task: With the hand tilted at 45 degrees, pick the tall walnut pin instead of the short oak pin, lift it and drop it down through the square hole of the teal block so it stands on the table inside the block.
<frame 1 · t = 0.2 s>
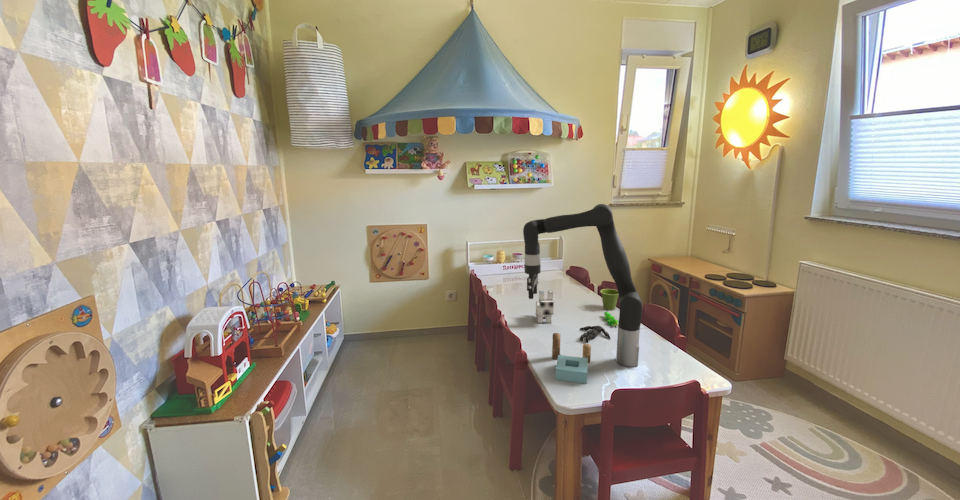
hand: (532, 296, 187), 29 cm above the table, tool pointing down, fingers open, 8 cm apart
green lumpy elongated piece: (610, 322, 227), on the table
plant pot: (609, 308, 249), on the table
toy llama: (543, 321, 230), on the table
hole block: (571, 373, 171), on the table
long pin: (555, 357, 186), on the table
dark grey sprawling piece: (592, 336, 210), on the table
short pin: (586, 361, 182), on the table
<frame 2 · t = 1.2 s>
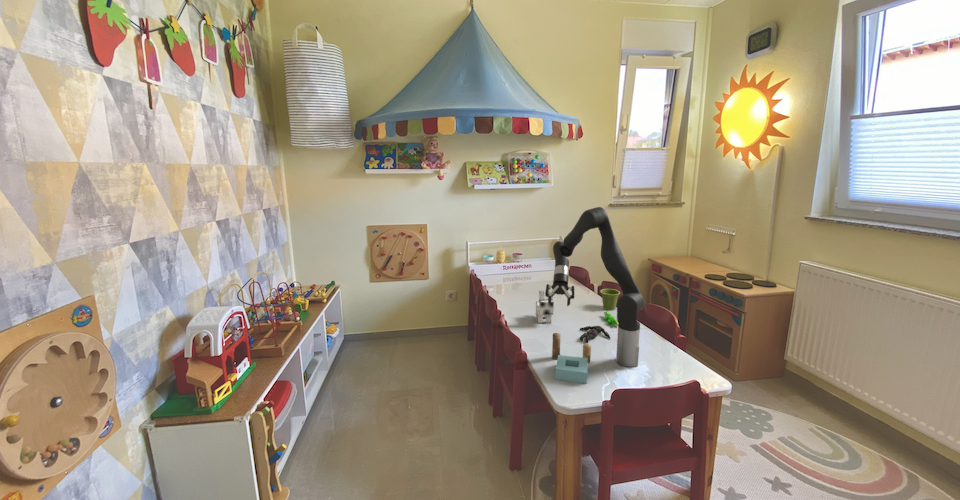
hand: (559, 304, 192), 23 cm above the table, tool tilted 45°, fingers open, 8 cm apart
nothing on the table moved.
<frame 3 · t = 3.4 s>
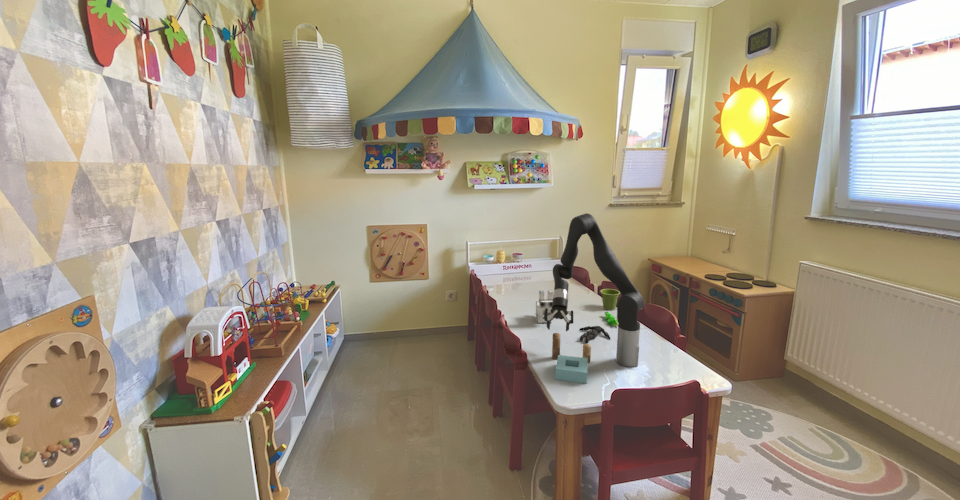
hand: (557, 329, 189), 12 cm above the table, tool tilted 45°, fingers open, 8 cm apart
nothing on the table moved.
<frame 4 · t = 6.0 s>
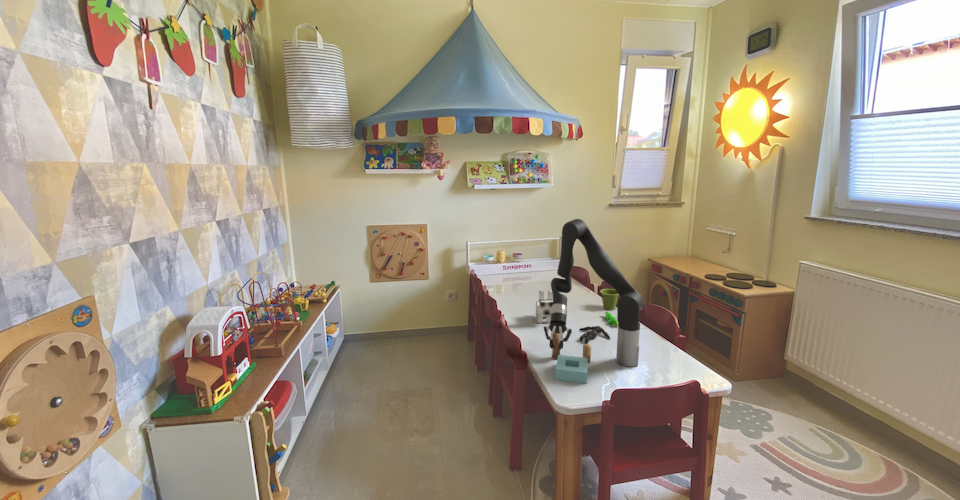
hand: (556, 348, 183), 6 cm above the table, tool tilted 45°, fingers closed on long pin, 3 cm apart
long pin: (556, 357, 186), on the table, touching gripper
everything else where it was.
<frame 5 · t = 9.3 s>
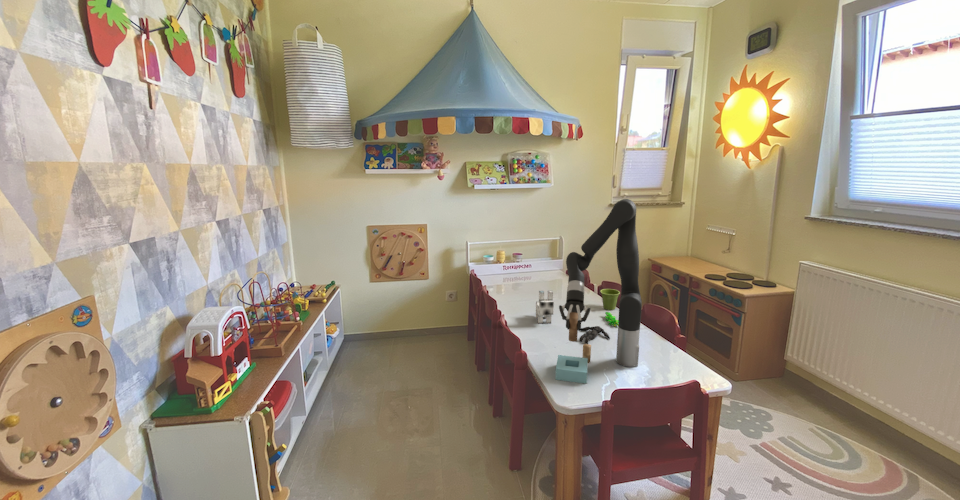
hand: (573, 329, 165), 22 cm above the table, tool tilted 45°, fingers closed on long pin, 3 cm apart
long pin: (572, 339, 168), point 16 cm above the table, touching gripper
everything else where it was.
when the fingers open (7 cm above the table, at t = 13.1 s): long pin drops 1 cm, resting in hole block.
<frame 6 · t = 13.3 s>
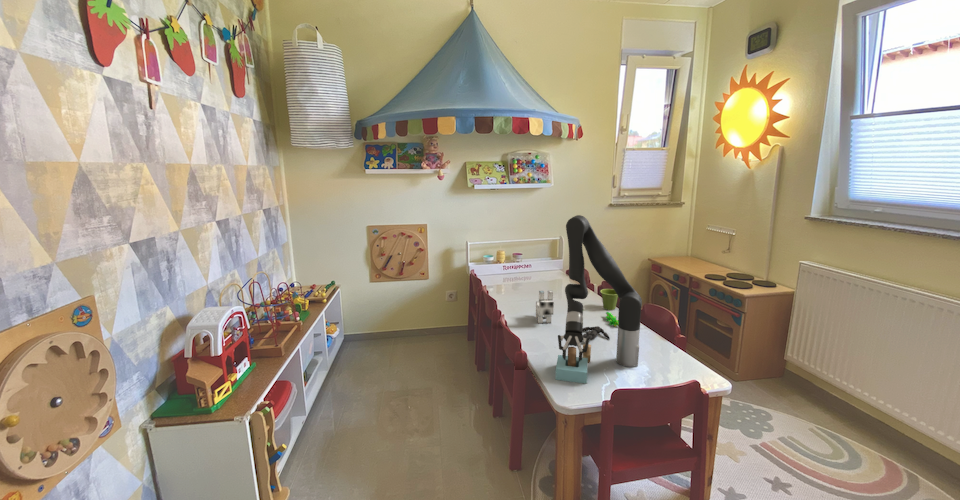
hand: (572, 359, 168), 8 cm above the table, tool tilted 45°, fingers open, 5 cm apart
long pin: (571, 373, 171), resting in hole block
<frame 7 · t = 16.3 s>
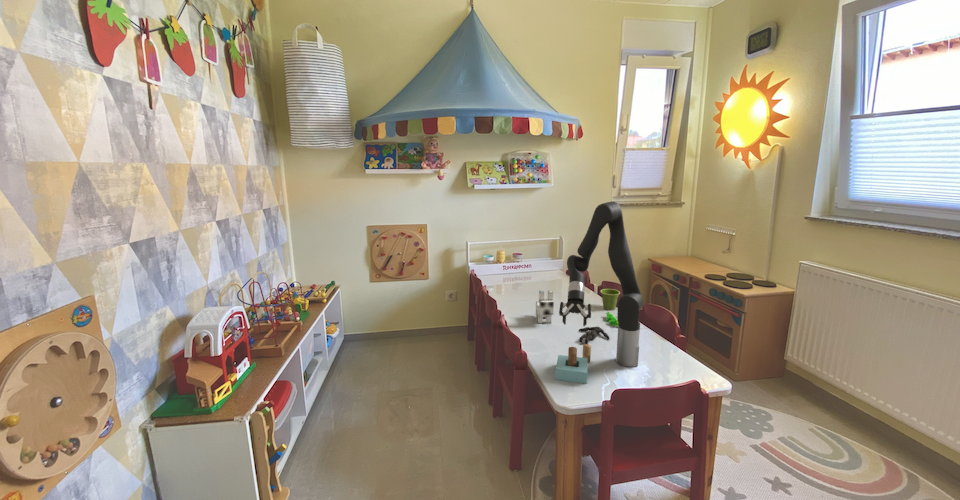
hand: (574, 324, 177), 19 cm above the table, tool tilted 45°, fingers open, 8 cm apart
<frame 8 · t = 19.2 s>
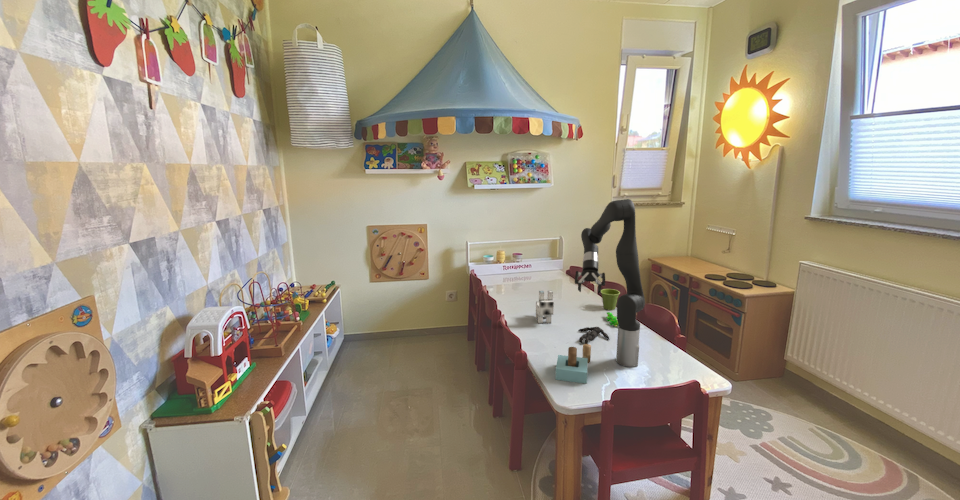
hand: (589, 291, 186), 31 cm above the table, tool tilted 45°, fingers open, 8 cm apart
at the end: long pin 0.0 cm off-centre on the hole block, point 0.0 cm above the hole block's base; long pin tilted 0°; short pin moved 0.0 cm from its start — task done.
